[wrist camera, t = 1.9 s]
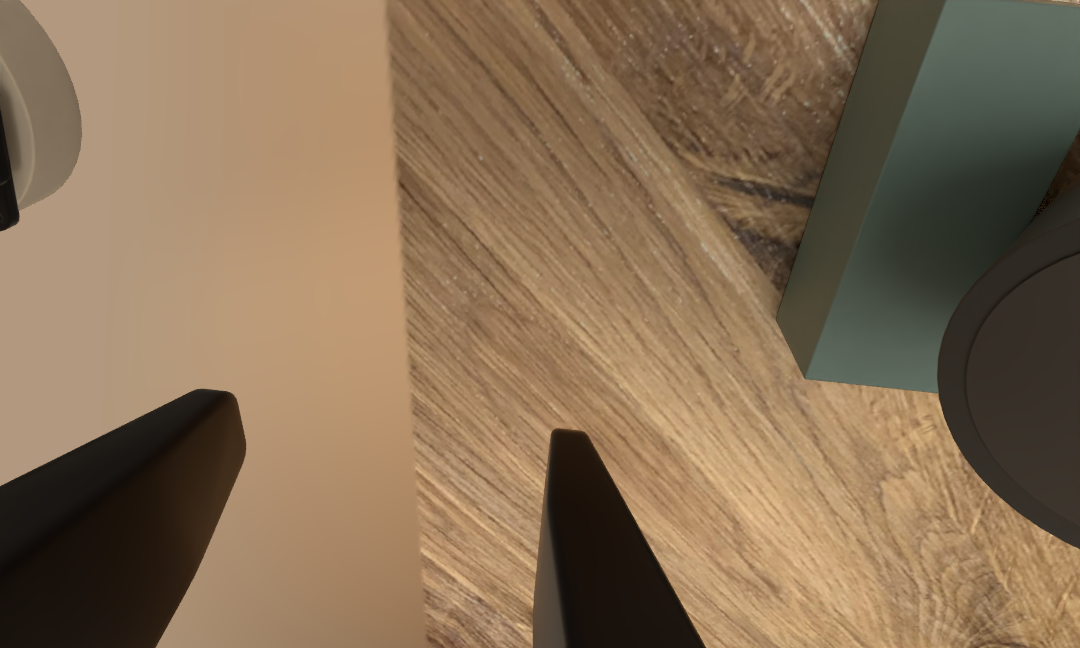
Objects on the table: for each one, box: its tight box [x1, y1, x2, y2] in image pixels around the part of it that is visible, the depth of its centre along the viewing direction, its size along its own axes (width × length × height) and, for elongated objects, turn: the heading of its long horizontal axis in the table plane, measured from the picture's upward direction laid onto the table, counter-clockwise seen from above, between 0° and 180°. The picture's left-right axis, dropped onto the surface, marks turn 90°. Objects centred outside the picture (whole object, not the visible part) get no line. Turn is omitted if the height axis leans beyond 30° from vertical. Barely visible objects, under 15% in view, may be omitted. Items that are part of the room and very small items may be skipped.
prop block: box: [776, 0, 1080, 393], centre depth 17 cm, size 4×10×3 cm, turn 175°
